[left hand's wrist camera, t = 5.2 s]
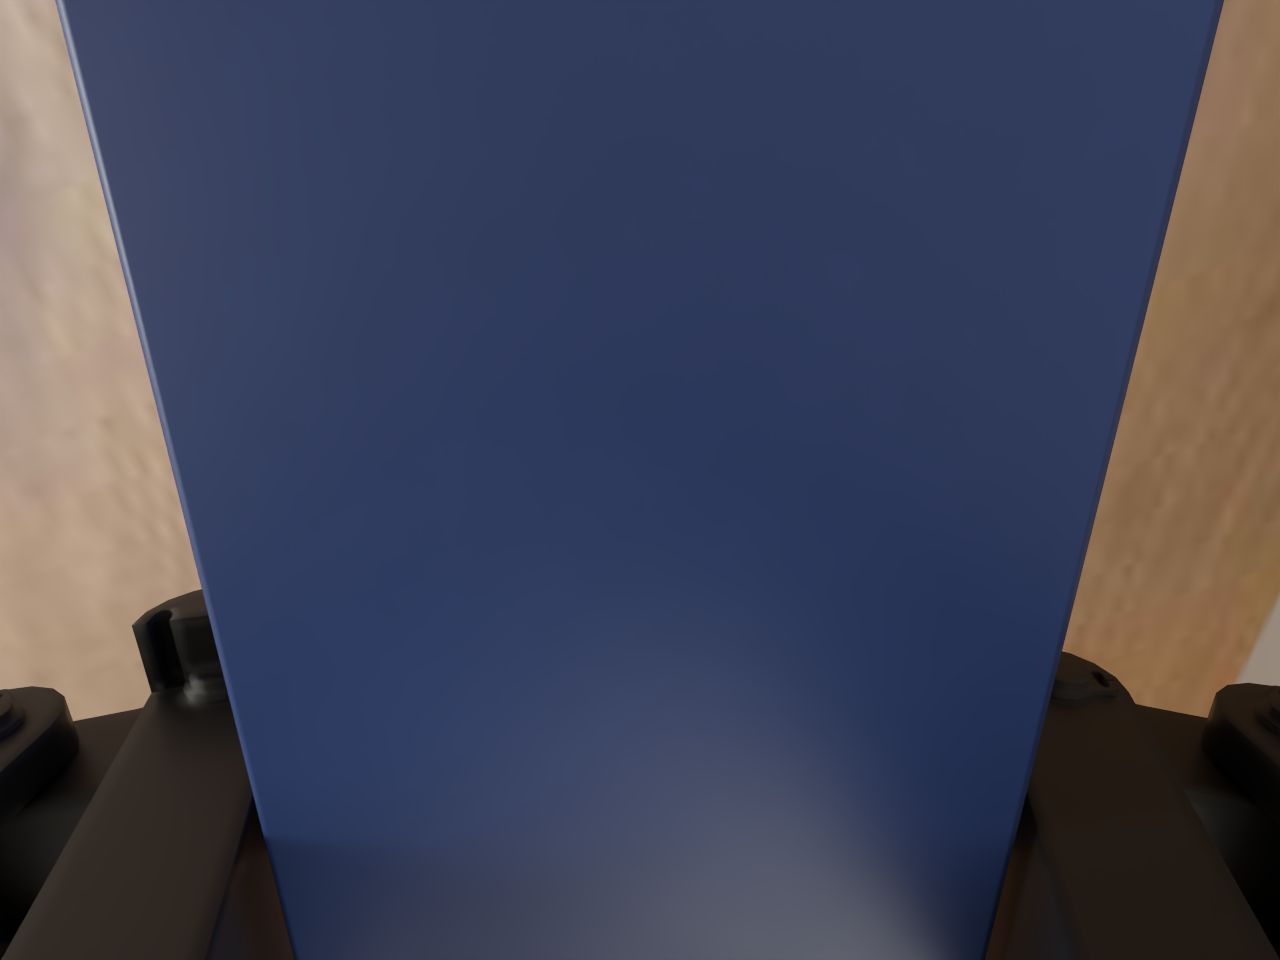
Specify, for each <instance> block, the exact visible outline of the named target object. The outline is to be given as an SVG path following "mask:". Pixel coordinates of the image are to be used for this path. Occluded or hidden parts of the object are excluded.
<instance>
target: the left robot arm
mask: <svg viewBox="0 0 1280 960" xmlns="http://www.w3.org/2000/svg"><path fill="white" fill-rule="evenodd" d="M132 628H133V631H134V634H135V638H136V641H137V644H138V648H139V651H140V655H141V658H142V661H143V665H144V668H145V672H146V675H147V678H148V682H149V685H150V688H151V692H152V693H151V695H150V697H149V699H148V700H147V702H146V704H145V706H144V707H143V708H139V709H135V710H130V711H125V712H120V713H114V714H109V715H104V716H99V717H94V718H88V719H83V720H78V721H73V720H72V717H71V714H70V712H69V709H68V706H67V703H66V700H65V697H64V696H63V695H61V694H60V693H59V692H57V691H56V690H54V689H52V688H43V687H33V686H31V687H24V688H16V689H9V690H8V689H4V690H0V960H294V956H293V952H292V948H291V944H290V940H289V936H288V932H287V928H286V924H285V920H284V916H283V912H282V908H281V904H280V900H279V896H278V892H277V888H276V884H275V880H274V876H273V872H272V868H271V864H270V860H269V856H268V852H267V848H266V844H265V840H264V836H263V832H262V828H261V824H260V820H259V816H258V812H257V808H256V804H255V800H254V795H253V791H252V787H251V783H250V779H249V775H248V771H247V767H246V763H245V759H244V755H243V751H242V747H241V743H240V739H239V735H238V731H237V727H236V723H235V719H234V715H233V711H232V707H231V703H230V699H229V695H228V691H227V687H226V683H225V679H224V675H223V671H222V667H221V663H220V659H219V655H218V651H217V647H216V643H215V639H214V635H213V631H212V627H211V623H210V619H209V615H208V611H207V607H206V603H205V599H204V595H203V591H202V590H197V591H193V592H190V593H187V594H184V595H182V596H179V597H176V598H173V599H170V600H168V601H166V602H164V603H162V604H160V605H158V606H157V607H155V608H153V609H151V610H149V611H147V612H146V613H145V614H144V615H143V616H142V617H140V618H139V619H138V620H137V621H136V622H135V623H134V624H133V625H132ZM985 960H1280V686H1268V685H1261V684H1253V683H1242V684H1233V685H1227V686H1225V687H1224V688H1223V689H1221V690H1220V691H1218V692H1217V693H1216V695H1215V698H1214V701H1213V704H1212V707H1211V710H1210V712H1209V715H1208V718H1204V717H1199V716H1193V715H1188V714H1183V713H1178V712H1173V711H1167V710H1162V709H1157V708H1152V707H1146V706H1142V705H1138V704H1135V703H1134V701H1133V699H1132V697H1131V695H1130V694H1129V692H1128V691H1127V690H1126V689H1125V687H1124V686H1123V685H1122V684H1121V683H1120V682H1119V681H1118V680H1117V678H1116V677H1115V676H1113V675H1111V674H1110V673H1108V672H1107V671H1105V670H1104V669H1102V668H1101V667H1099V666H1098V665H1096V664H1094V663H1092V662H1090V661H1087V660H1085V659H1082V658H1080V657H1078V656H1075V655H1073V654H1070V653H1066V652H1061V656H1060V660H1059V664H1058V668H1057V672H1056V676H1055V680H1054V684H1053V688H1052V692H1051V696H1050V700H1049V704H1048V708H1047V712H1046V717H1045V721H1044V725H1043V729H1042V733H1041V737H1040V741H1039V745H1038V749H1037V753H1036V757H1035V761H1034V765H1033V769H1032V773H1031V777H1030V781H1029V785H1028V789H1027V793H1026V797H1025V801H1024V805H1023V809H1022V813H1021V817H1020V821H1019V825H1018V829H1017V833H1016V837H1015V841H1014V845H1013V849H1012V853H1011V857H1010V861H1009V865H1008V869H1007V873H1006V877H1005V881H1004V885H1003V889H1002V893H1001V897H1000V901H999V905H998V909H997V913H996V917H995V921H994V925H993V929H992V933H991V937H990V941H989V945H988V949H987V953H986V957H985Z"/></svg>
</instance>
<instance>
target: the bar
mask: <svg viewBox="0 0 1280 960" xmlns="http://www.w3.org/2000/svg"><path fill="white" fill-rule="evenodd" d="M55 1H56V5H57V9H58V13H59V17H60V21H61V25H62V29H63V33H64V37H65V41H66V45H67V49H68V53H69V57H70V61H71V65H72V69H73V73H74V77H75V81H76V85H77V89H78V93H79V97H80V101H81V105H82V109H83V113H84V117H85V121H86V125H87V129H88V133H89V137H90V141H91V145H92V149H93V153H94V157H95V161H96V165H97V169H98V173H99V177H100V181H101V185H102V189H103V193H104V197H105V201H106V205H107V209H108V213H109V217H110V221H111V225H112V229H113V233H114V238H115V242H116V246H117V250H118V254H119V258H120V262H121V266H122V270H123V274H124V278H125V282H126V286H127V290H128V294H129V298H130V302H131V306H132V310H133V314H134V318H135V322H136V326H137V330H138V334H139V338H140V342H141V346H142V350H143V354H144V358H145V362H146V366H147V370H148V374H149V378H150V382H151V386H152V390H153V394H154V398H155V402H156V406H157V410H158V414H159V418H160V422H161V426H162V430H163V434H164V438H165V442H166V446H167V450H168V454H169V458H170V462H171V466H172V470H173V474H174V478H175V482H176V486H177V490H178V494H179V498H180V502H181V506H182V510H183V514H184V519H185V523H186V527H187V531H188V535H189V539H190V543H191V547H192V551H193V555H194V559H195V563H196V567H197V571H198V575H199V579H200V583H201V587H202V591H203V595H204V599H205V603H206V607H207V611H208V615H209V619H210V623H211V627H212V631H213V635H214V639H215V643H216V647H217V651H218V655H219V659H220V663H221V667H222V671H223V675H224V679H225V683H226V687H227V691H228V695H229V699H230V703H231V707H232V711H233V715H234V719H235V723H236V727H237V731H238V735H239V739H240V743H241V747H242V751H243V755H244V759H245V763H246V767H247V771H248V775H249V779H250V783H251V787H252V791H253V795H254V800H255V804H256V808H257V812H258V816H259V820H260V824H261V828H262V832H263V836H264V840H265V844H266V848H267V852H268V856H269V860H270V864H271V868H272V872H273V876H274V880H275V884H276V888H277V892H278V896H279V900H280V904H281V908H282V912H283V916H284V920H285V924H286V928H287V932H288V936H289V940H290V944H291V948H292V952H293V956H294V960H985V957H986V953H987V949H988V945H989V941H990V937H991V933H992V929H993V925H994V921H995V917H996V913H997V909H998V905H999V901H1000V897H1001V893H1002V889H1003V885H1004V881H1005V877H1006V873H1007V869H1008V865H1009V861H1010V857H1011V853H1012V849H1013V845H1014V841H1015V837H1016V833H1017V829H1018V825H1019V821H1020V817H1021V813H1022V809H1023V805H1024V801H1025V797H1026V793H1027V789H1028V785H1029V781H1030V777H1031V773H1032V769H1033V765H1034V761H1035V757H1036V753H1037V749H1038V745H1039V741H1040V737H1041V733H1042V729H1043V725H1044V721H1045V717H1046V712H1047V708H1048V704H1049V700H1050V696H1051V692H1052V688H1053V684H1054V680H1055V676H1056V672H1057V668H1058V664H1059V660H1060V656H1061V652H1062V648H1063V644H1064V640H1065V636H1066V632H1067V628H1068V624H1069V620H1070V616H1071V612H1072V608H1073V604H1074V600H1075V596H1076V592H1077V588H1078V584H1079V580H1080V576H1081V572H1082V568H1083V564H1084V560H1085V556H1086V552H1087V548H1088V544H1089V540H1090V536H1091V532H1092V528H1093V524H1094V520H1095V516H1096V512H1097V508H1098V504H1099V500H1100V496H1101V492H1102V488H1103V484H1104V480H1105V476H1106V472H1107V468H1108V464H1109V460H1110V456H1111V452H1112V448H1113V444H1114V440H1115V436H1116V432H1117V428H1118V423H1119V419H1120V415H1121V411H1122V407H1123V403H1124V399H1125V395H1126V391H1127V387H1128V383H1129V379H1130V375H1131V371H1132V367H1133V363H1134V359H1135V355H1136V351H1137V347H1138V343H1139V339H1140V335H1141V331H1142V327H1143V323H1144V319H1145V315H1146V311H1147V307H1148V303H1149V299H1150V295H1151V291H1152V287H1153V283H1154V279H1155V275H1156V271H1157V267H1158V263H1159V259H1160V255H1161V251H1162V247H1163V243H1164V239H1165V235H1166V231H1167V227H1168V223H1169V219H1170V215H1171V211H1172V207H1173V203H1174V199H1175V195H1176V191H1177V187H1178V183H1179V179H1180V175H1181V171H1182V167H1183V163H1184V159H1185V155H1186V151H1187V147H1188V143H1189V139H1190V134H1191V130H1192V126H1193V122H1194V118H1195V114H1196V110H1197V106H1198V102H1199V98H1200V94H1201V90H1202V86H1203V82H1204V78H1205V74H1206V70H1207V66H1208V62H1209V58H1210V54H1211V50H1212V46H1213V42H1214V38H1215V34H1216V30H1217V26H1218V22H1219V18H1220V14H1221V10H1222V6H1223V2H1224V0H55Z"/></svg>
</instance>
